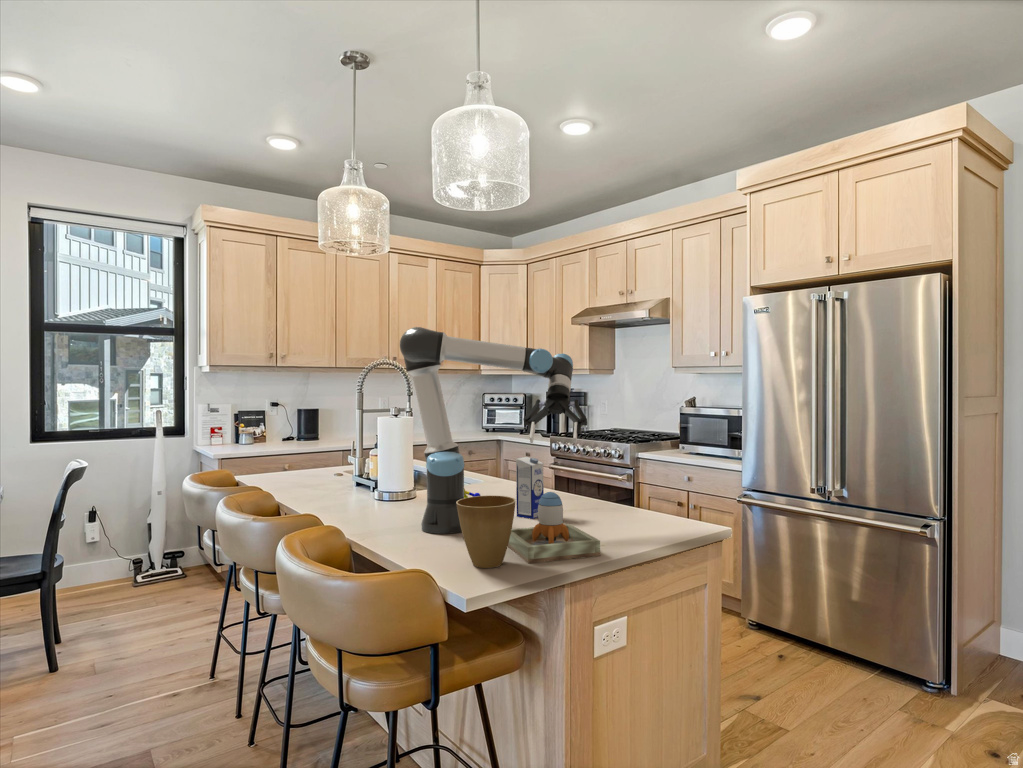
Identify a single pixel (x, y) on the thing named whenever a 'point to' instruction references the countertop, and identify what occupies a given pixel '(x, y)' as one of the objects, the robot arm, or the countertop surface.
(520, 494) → the milk carton
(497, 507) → the plant pot
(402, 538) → the countertop surface
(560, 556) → the cradle
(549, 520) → the toy rocket
